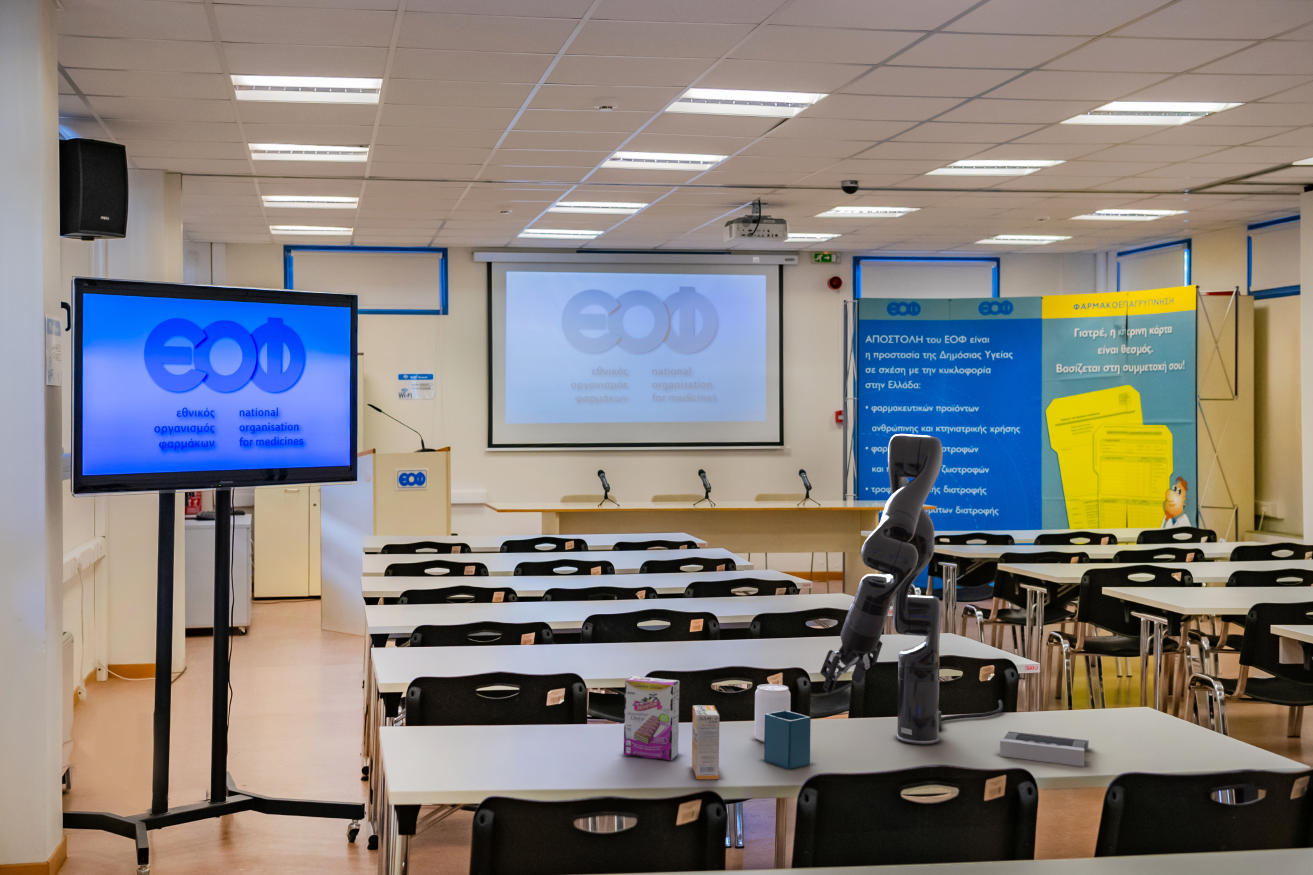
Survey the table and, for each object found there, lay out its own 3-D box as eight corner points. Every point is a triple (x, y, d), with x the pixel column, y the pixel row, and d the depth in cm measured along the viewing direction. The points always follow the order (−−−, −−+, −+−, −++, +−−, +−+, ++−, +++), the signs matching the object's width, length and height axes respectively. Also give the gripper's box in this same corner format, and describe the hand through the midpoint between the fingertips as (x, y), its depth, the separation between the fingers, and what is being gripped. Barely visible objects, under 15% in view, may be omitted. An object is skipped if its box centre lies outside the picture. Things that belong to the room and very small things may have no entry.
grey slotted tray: (1000, 740, 240) (1009, 718, 255) (1000, 761, 241) (1009, 738, 255) (1083, 750, 233) (1088, 727, 248) (1083, 771, 233) (1088, 747, 248)
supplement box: (690, 767, 228) (691, 704, 228) (713, 767, 228) (714, 704, 228) (695, 779, 220) (696, 714, 220) (719, 779, 220) (720, 714, 220)
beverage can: (788, 745, 247) (789, 691, 247) (752, 742, 248) (753, 689, 248) (791, 736, 255) (792, 684, 255) (756, 733, 256) (757, 682, 256)
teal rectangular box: (764, 713, 234) (789, 721, 228) (785, 709, 238) (810, 716, 232) (764, 760, 234) (789, 769, 228) (784, 756, 238) (810, 764, 232)
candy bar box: (622, 755, 236) (623, 679, 236) (630, 750, 241) (631, 675, 241) (671, 761, 232) (673, 683, 233) (679, 755, 237) (680, 679, 237)
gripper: (853, 642, 212) (830, 706, 219) (901, 626, 220) (878, 688, 228) (826, 620, 217) (805, 683, 224) (875, 604, 225) (852, 666, 233)
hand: (841, 685), depth 226 cm, fingers open, 8 cm apart
